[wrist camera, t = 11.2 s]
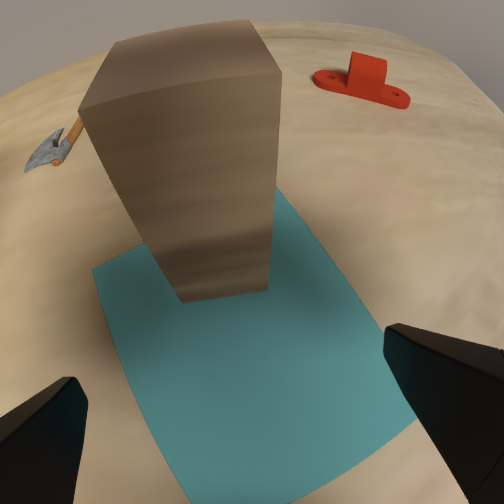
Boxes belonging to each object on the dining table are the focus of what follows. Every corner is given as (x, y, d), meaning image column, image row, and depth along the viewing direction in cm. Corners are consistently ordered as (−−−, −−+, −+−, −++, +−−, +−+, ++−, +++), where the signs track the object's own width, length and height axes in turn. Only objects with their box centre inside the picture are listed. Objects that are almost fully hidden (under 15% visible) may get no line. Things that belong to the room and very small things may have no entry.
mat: (424, 407, 14) (429, 407, 14) (214, 530, 11) (212, 534, 10) (274, 190, 22) (275, 185, 21) (95, 273, 19) (91, 269, 18)
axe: (93, 71, 36) (91, 62, 35) (130, 64, 36) (128, 55, 35) (22, 175, 25) (15, 165, 24) (65, 170, 25) (58, 158, 24)
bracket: (405, 98, 30) (416, 65, 26) (409, 114, 28) (422, 79, 24) (315, 75, 32) (318, 40, 27) (311, 89, 30) (315, 51, 26)
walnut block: (267, 290, 18) (281, 73, 6) (182, 303, 17) (77, 110, 6) (253, 220, 20) (248, 19, 9) (178, 231, 20) (115, 42, 8)
